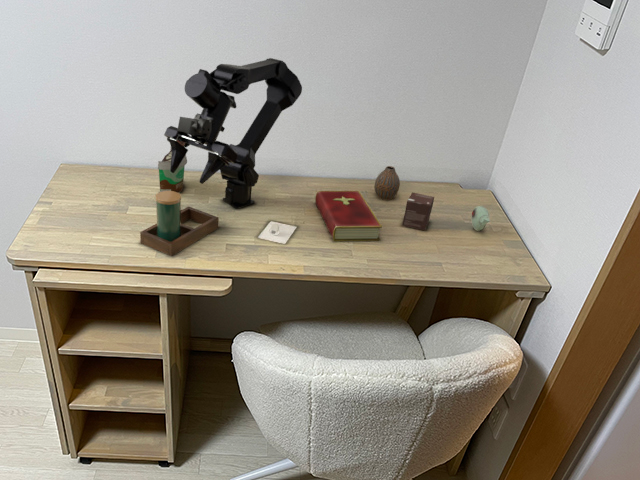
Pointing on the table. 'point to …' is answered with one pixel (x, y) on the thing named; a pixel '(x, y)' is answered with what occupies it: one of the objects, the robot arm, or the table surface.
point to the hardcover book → (347, 216)
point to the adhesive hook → (277, 232)
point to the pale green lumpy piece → (480, 217)
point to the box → (418, 211)
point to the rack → (187, 233)
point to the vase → (387, 183)
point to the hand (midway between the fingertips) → (186, 177)
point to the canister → (168, 215)
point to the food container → (171, 174)
